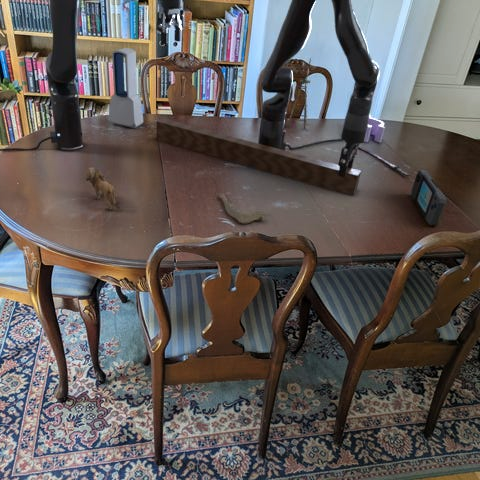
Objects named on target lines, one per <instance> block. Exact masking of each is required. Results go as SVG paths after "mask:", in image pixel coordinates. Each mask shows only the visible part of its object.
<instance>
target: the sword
mask: <svg viewBox="0 0 480 480" xmlns="http://www.w3.org/2000/svg"><path fill="white" fill-rule="evenodd" d="M358 150H361V151H365V152H366V153H368V154H370V155H371V156H374V157H375V158H377V159H378V160H380V161H382V162H384V164H386V165H388V166H390V168H392V169H394V170H397V171H398V172H400V173H401V174H402V175H404V176H406V177H410V174H408V173H407V172H406V171H404V170H403V169H402V168H400V166H398V165H395V164H394V163H392V162H389V161H388V160H386V159H385V158H383V157H381V156H379V155H377V154H376V153H373V152H372V151H370V150H368V149H366V148H363V147H359V146H358Z"/></svg>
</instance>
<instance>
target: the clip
mask: <svg viewBox="0 0 480 480" xmlns="http://www.w3.org/2000/svg"><path fill="white" fill-rule="evenodd" d="M385 129H386V127H385V122H384V121H383V120H380V119H377V118H374V117H372V115H371V114H369V121H368V126H367V130H366V134H365V138H364V142H363V143H368V142H369V140H370V135H372V136H374V139H373V140H374V142H376V143H382V140H383V137H384V132H385Z"/></svg>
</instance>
